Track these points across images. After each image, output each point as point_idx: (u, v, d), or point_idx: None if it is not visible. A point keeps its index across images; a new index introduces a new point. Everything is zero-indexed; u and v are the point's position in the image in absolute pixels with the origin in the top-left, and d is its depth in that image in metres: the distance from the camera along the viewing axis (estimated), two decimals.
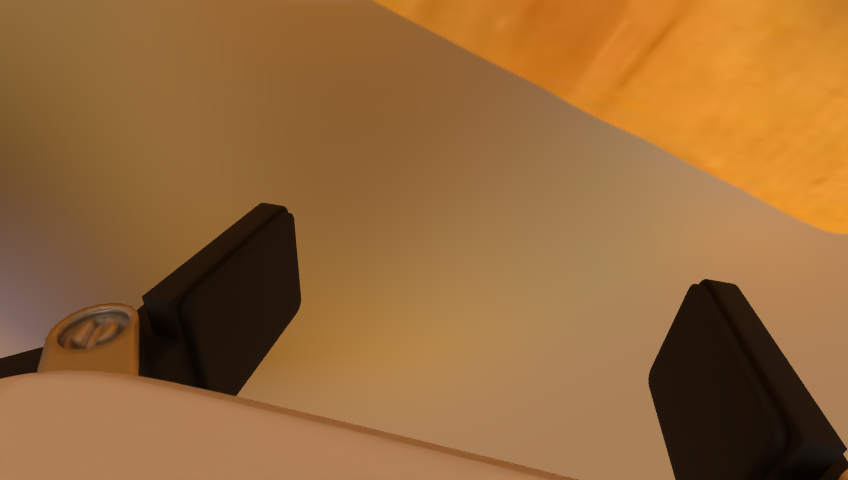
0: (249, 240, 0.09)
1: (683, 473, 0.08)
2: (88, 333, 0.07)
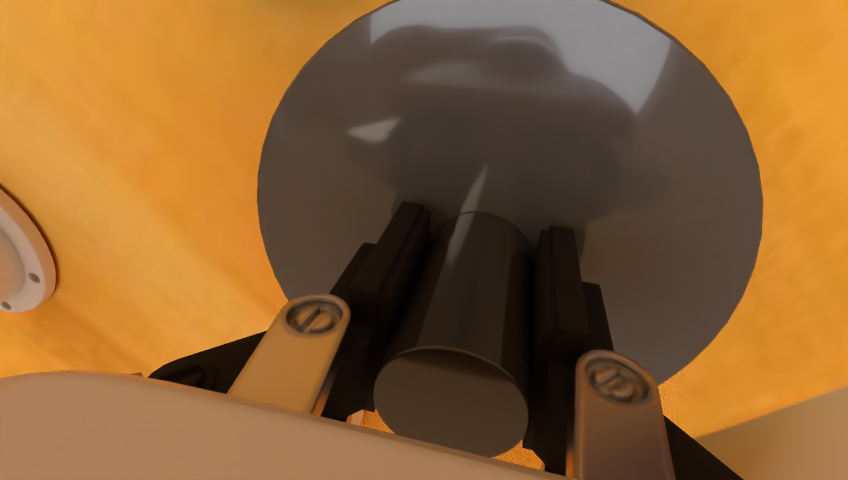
0: (410, 236, 0.10)
1: None
2: (309, 317, 0.08)
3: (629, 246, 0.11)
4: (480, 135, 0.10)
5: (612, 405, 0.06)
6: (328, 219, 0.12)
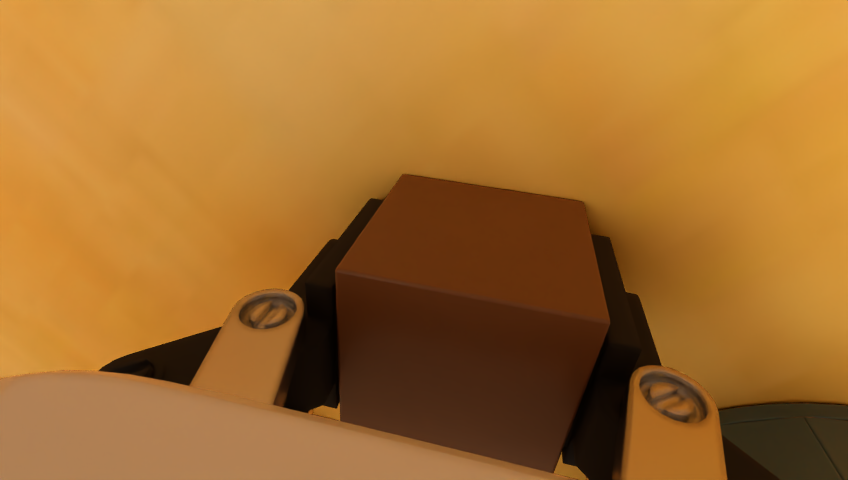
0: None
1: None
2: (263, 313, 0.08)
3: None
4: None
5: (666, 422, 0.06)
6: None
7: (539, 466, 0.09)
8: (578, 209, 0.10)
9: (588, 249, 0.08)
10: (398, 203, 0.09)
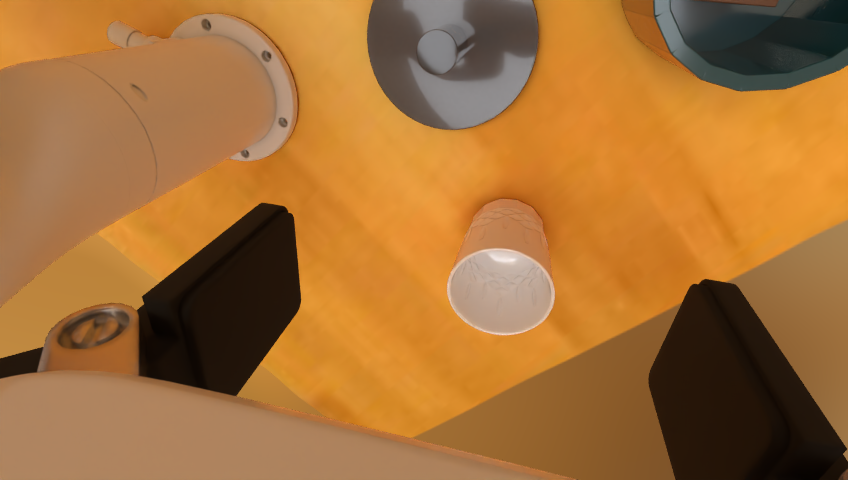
0: (249, 240, 0.09)
1: (683, 473, 0.08)
2: (88, 333, 0.07)
3: (498, 33, 0.32)
4: None
5: None
6: (394, 32, 0.34)
7: None
8: None
9: None
10: None
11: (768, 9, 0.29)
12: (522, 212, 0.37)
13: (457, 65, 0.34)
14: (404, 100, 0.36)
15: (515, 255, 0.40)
